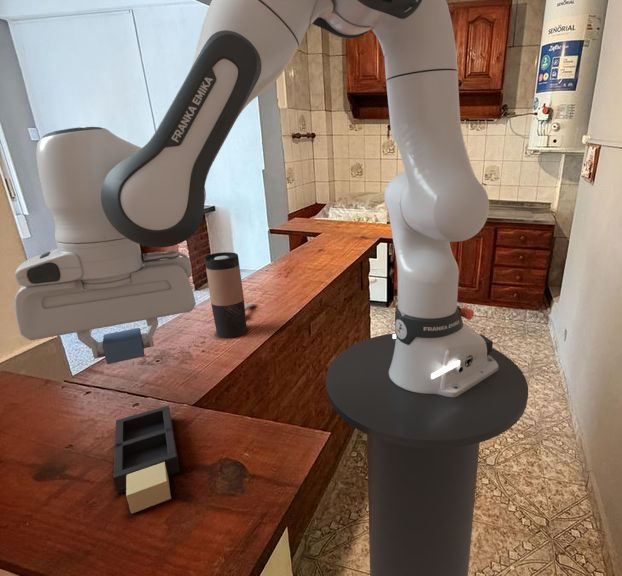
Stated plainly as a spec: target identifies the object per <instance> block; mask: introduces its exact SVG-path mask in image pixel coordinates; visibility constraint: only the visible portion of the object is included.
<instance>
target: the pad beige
mask: <svg viewBox="0 0 622 576" xmlns="http://www.w3.org/2000/svg"><path fill="white" fill-rule="evenodd" d="M125 497H126V500H127V504H128V508H129V511H130V514H131V515H132V514H135V513H138V512H140V511H143V510H146V509H147V508H150V507H153V506H156V505H158V504H161V503H163V502H166V501H169V500H171V499H172V495H171V488H170V480H169V476H168V474H167V470H166V465H165V462H162V463H159V464H157V465H154V466H151V467H148V468H145V469H142V470H139V471H136V472H133V473H130V474H127V475H126V492H125Z"/></svg>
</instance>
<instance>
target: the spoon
mask: <svg viewBox="0 0 622 576" xmlns="http://www.w3.org/2000/svg"><path fill="white" fill-rule="evenodd" d="M255 305H256V304H255V303H247V304H246V305H245V312H246V311H247V310H249V309H250V308H252V307H253V308H254V307H255ZM246 314H247V313H245V316H246ZM246 317H247V316H246Z"/></svg>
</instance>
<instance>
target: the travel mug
mask: <svg viewBox="0 0 622 576" xmlns="http://www.w3.org/2000/svg"><path fill="white" fill-rule="evenodd" d="M204 264H205V269H206V277H207V282H208V292H209V297H210V298H209V299H210V304H211V305H210V306H211V311H212V316H213V321H214V325H215V331H216V335H217V337H219V338H222V339H232V338H237V337H241V336H243V335H244V334H246V333H247V330H248V329H247V318H246V317H247V316H245V314H246V311H245V306H246V305H245V296H244V288H243V282H242V273H241V267H240V259H239V254H238V253H236V252H228V251H226V252H225V251H224V252H223V251H222V252H216V253H215V252H214V253H211V254H208V255H206V256H204Z"/></svg>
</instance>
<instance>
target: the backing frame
mask: <svg viewBox="0 0 622 576" xmlns="http://www.w3.org/2000/svg"><path fill="white" fill-rule="evenodd" d="M176 444H177V443H176V439H175V432H174V426H173V420H172V415H171V410H170V406H169V405H165V406H161V407H158V408H154V409H151V410H147V411H144V412H141V413H136V414H133V415H130V416H126V417H122V418H119V419H116V420H115V436H114V455H113V456H114V458H113V482H114V485H115V489H116V492H117V495H120V494H123V493H126V475H127V474H130V473H133V472H136V471H139V470H142V469H145V468H148V467H151V466H154V465H157V464H159V463H162V462H165V465H166V470H167V474H168V477H170V476H173V475H175V474H179V473H180V472H181V470H180V462H179V458H178V456H179V455H178V451H177V445H176Z"/></svg>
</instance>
